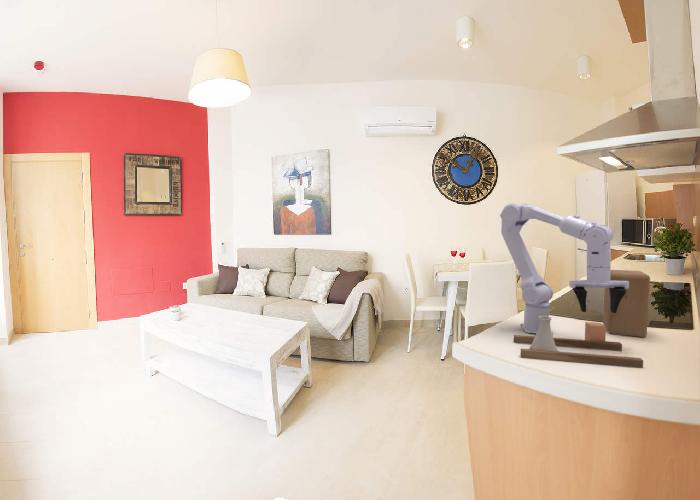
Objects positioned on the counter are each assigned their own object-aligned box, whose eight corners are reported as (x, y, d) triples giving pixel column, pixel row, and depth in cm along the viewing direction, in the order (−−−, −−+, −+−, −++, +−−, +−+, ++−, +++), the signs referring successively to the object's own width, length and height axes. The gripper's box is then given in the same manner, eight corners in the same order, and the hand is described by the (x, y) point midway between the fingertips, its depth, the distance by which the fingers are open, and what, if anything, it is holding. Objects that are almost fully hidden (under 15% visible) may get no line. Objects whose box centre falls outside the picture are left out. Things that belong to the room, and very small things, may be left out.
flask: (532, 344, 105) (533, 312, 104) (560, 350, 100) (561, 316, 99) (527, 352, 99) (528, 318, 98) (556, 358, 94) (557, 322, 94)
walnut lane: (513, 341, 108) (513, 334, 108) (619, 348, 100) (619, 342, 100) (521, 357, 95) (521, 350, 95) (642, 367, 87) (643, 360, 87)
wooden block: (607, 334, 112) (610, 273, 110) (602, 325, 121) (605, 269, 119) (647, 338, 107) (651, 275, 105) (638, 329, 116) (642, 270, 114)
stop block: (584, 340, 107) (585, 321, 106) (599, 341, 106) (600, 322, 105) (589, 345, 103) (590, 325, 103) (605, 346, 102) (606, 326, 101)
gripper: (574, 268, 100) (574, 314, 101) (634, 268, 96) (634, 316, 96) (567, 265, 107) (567, 308, 108) (622, 265, 102) (622, 310, 103)
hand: (598, 311), depth 102 cm, fingers open, 7 cm apart
